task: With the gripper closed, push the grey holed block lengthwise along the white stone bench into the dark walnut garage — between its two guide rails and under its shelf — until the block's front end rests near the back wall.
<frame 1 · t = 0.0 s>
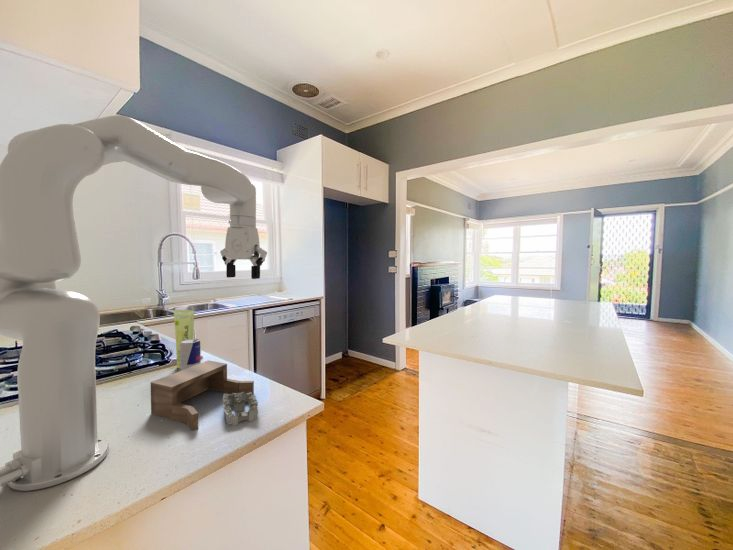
hand: (243, 277, 94), 31 cm above the countertop, tool pointing down, fingers open, 9 cm apart
energy drink: (190, 379, 92), on the countertop
grey holed block: (239, 414, 73), on the countertop
walnut garage: (199, 402, 77), on the countertop
tube: (185, 366, 102), on the countertop
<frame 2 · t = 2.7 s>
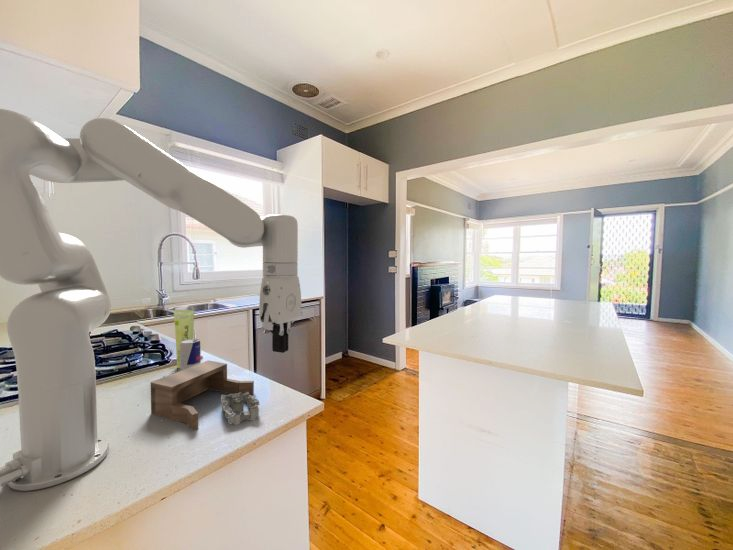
hand: (280, 350, 68), 17 cm above the countertop, tool pointing down, fingers closed
nothing on the countertop moved.
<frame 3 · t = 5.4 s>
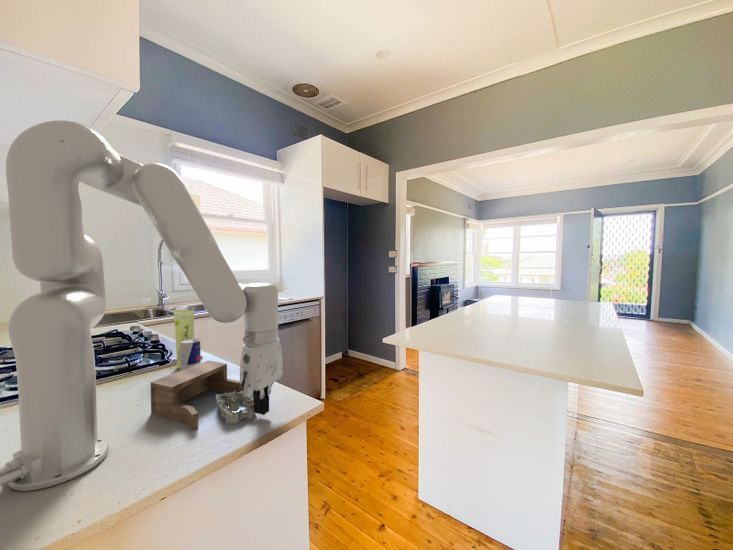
hand: (261, 412, 71), 1 cm above the countertop, tool pointing down, fingers closed
grey holed block: (235, 413, 73), on the countertop, touching gripper
everything else where it was.
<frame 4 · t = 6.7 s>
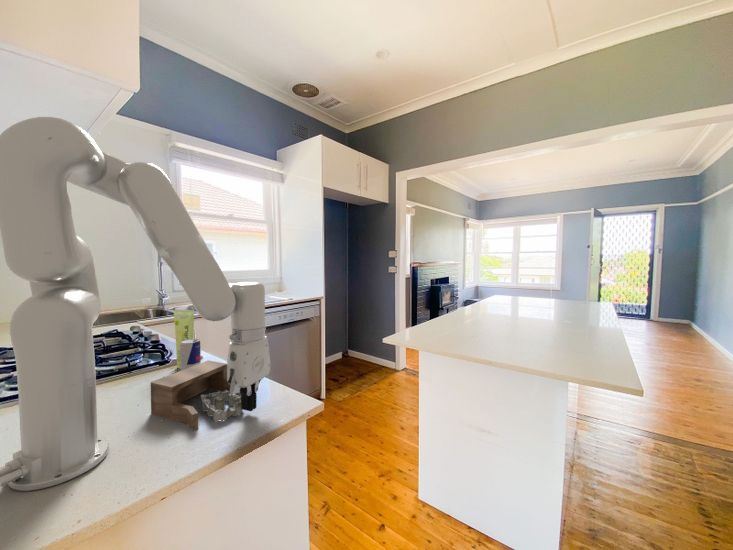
hand: (248, 408, 72), 1 cm above the countertop, tool pointing down, fingers closed
grey holed block: (222, 412, 74), on the countertop
everything else where it was.
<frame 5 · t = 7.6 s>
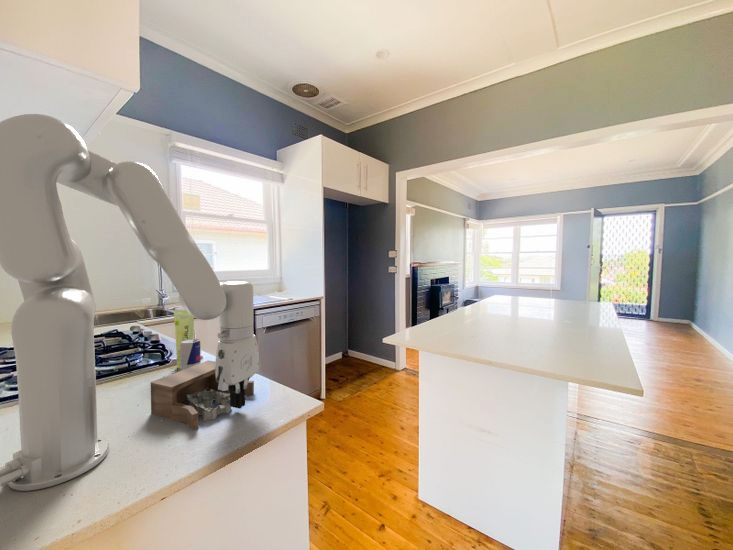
hand: (237, 405, 73), 1 cm above the countertop, tool pointing down, fingers closed
grey holed block: (209, 410, 74), on the countertop
everything else where it was.
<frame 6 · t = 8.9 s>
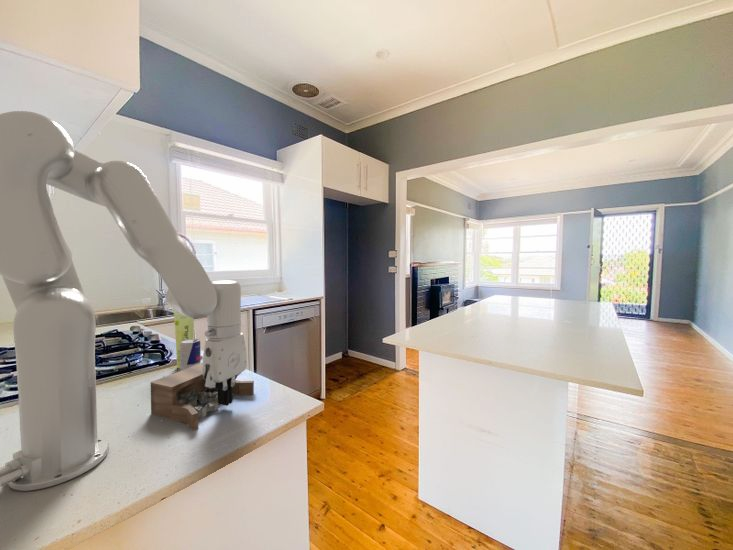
hand: (225, 403, 75), 1 cm above the countertop, tool pointing down, fingers closed
grey holed block: (195, 410, 74), on the countertop, touching gripper
everything else where it was.
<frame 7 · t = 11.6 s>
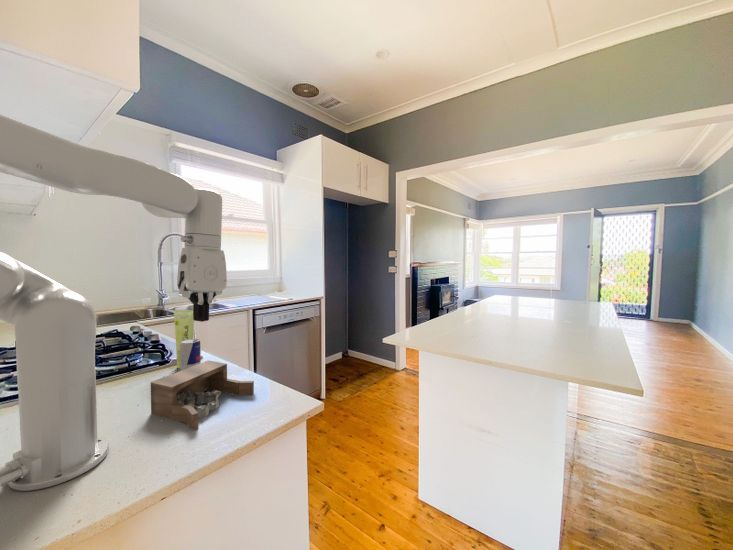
hand: (201, 320, 71), 23 cm above the countertop, tool pointing down, fingers closed
grey holed block: (194, 410, 74), on the countertop
everything else where it was.
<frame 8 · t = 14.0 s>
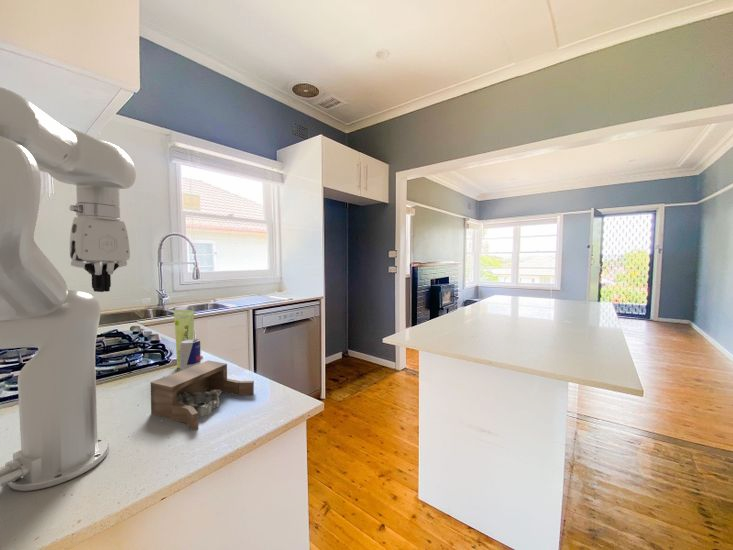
hand: (101, 291, 71), 29 cm above the countertop, tool pointing down, fingers closed
nothing on the countertop moved.
at the end: grey holed block inside the target area (2.7 cm from its centre), on the countertop; grey holed block moved 11.8 cm from its start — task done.
